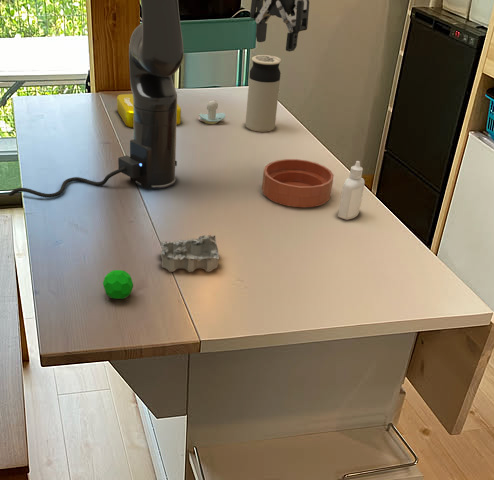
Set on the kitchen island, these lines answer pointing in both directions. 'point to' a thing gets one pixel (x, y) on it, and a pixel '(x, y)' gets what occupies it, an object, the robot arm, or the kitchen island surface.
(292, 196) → the bowl
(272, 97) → the travel mug
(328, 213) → the kitchen island surface
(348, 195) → the eye dropper bottle
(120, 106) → the element tile
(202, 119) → the pacifier
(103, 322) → the kitchen island surface
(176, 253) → the egg carton
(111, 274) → the polyhedron
